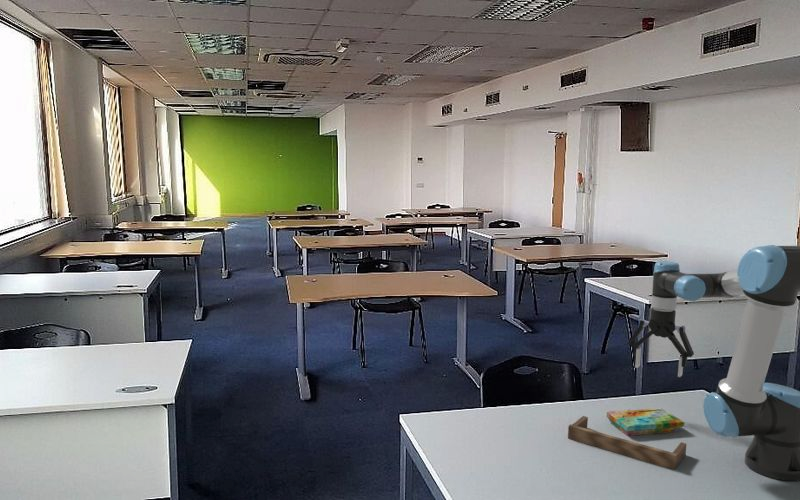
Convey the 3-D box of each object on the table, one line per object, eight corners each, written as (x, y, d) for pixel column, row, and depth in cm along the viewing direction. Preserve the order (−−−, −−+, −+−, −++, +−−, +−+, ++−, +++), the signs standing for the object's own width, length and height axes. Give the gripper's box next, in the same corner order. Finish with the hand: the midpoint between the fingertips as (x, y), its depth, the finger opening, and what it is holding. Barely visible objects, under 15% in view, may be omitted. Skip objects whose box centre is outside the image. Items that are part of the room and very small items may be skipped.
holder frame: (685, 455, 181) (686, 442, 181) (674, 469, 173) (675, 455, 172) (582, 426, 200) (583, 414, 200) (567, 438, 192) (568, 425, 191)
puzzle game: (606, 409, 203) (661, 405, 208) (606, 423, 204) (660, 419, 208) (627, 424, 192) (684, 419, 196) (626, 438, 193) (683, 433, 197)
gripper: (707, 313, 200) (701, 376, 203) (628, 300, 215) (624, 360, 218) (701, 317, 194) (695, 383, 197) (621, 304, 209) (616, 365, 213)
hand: (658, 371), depth 208 cm, fingers open, 13 cm apart
